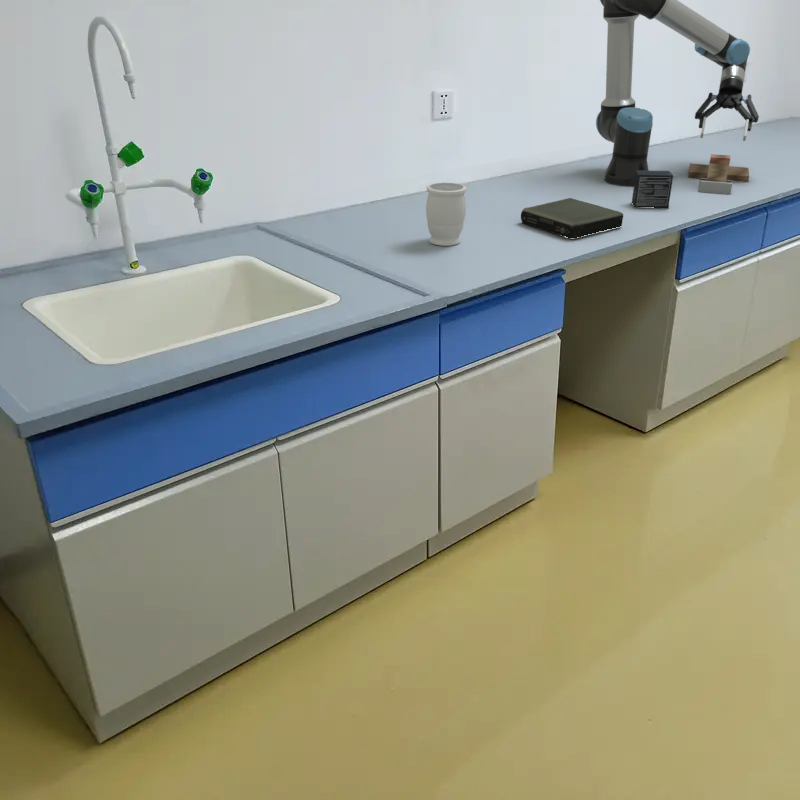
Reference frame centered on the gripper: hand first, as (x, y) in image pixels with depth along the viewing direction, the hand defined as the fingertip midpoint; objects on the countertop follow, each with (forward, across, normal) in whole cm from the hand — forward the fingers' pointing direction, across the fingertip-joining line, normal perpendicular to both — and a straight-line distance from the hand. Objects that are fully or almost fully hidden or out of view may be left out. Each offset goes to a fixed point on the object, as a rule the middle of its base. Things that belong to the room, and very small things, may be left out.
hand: (723, 137), depth 273 cm
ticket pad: (+18, 0, -3) cm, 19 cm away
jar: (+78, +69, +57) cm, 119 cm away
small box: (+38, +19, +16) cm, 46 cm away
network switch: (+60, +39, +37) cm, 81 cm away
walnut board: (+3, -1, -19) cm, 19 cm away
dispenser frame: (+18, 0, -3) cm, 19 cm away
